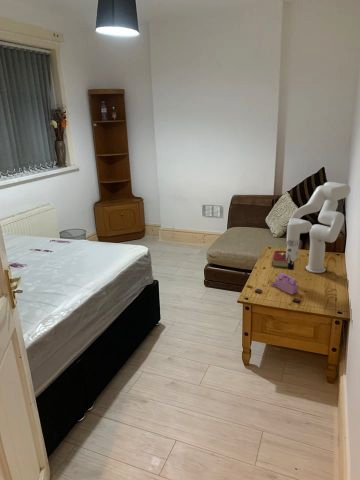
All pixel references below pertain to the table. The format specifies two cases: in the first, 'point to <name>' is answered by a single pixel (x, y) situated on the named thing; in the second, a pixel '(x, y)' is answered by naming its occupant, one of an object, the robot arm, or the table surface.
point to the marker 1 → (258, 290)
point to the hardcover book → (279, 259)
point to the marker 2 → (296, 300)
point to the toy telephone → (286, 283)
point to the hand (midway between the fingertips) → (290, 269)
